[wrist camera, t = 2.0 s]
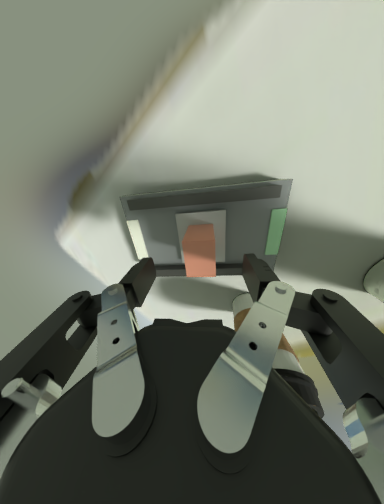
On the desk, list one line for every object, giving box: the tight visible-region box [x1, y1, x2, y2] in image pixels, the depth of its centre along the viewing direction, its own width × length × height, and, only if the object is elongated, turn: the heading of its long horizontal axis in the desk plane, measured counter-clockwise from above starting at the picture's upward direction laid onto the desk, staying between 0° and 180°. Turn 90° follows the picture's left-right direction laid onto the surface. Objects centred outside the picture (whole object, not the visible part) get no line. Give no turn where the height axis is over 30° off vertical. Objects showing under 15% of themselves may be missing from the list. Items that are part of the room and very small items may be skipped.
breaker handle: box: [175, 209, 226, 277], centre depth 16 cm, size 6×7×6 cm
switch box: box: [120, 179, 293, 277], centre depth 19 cm, size 20×12×4 cm, turn 96°
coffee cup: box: [232, 293, 324, 418], centre depth 21 cm, size 8×8×15 cm
